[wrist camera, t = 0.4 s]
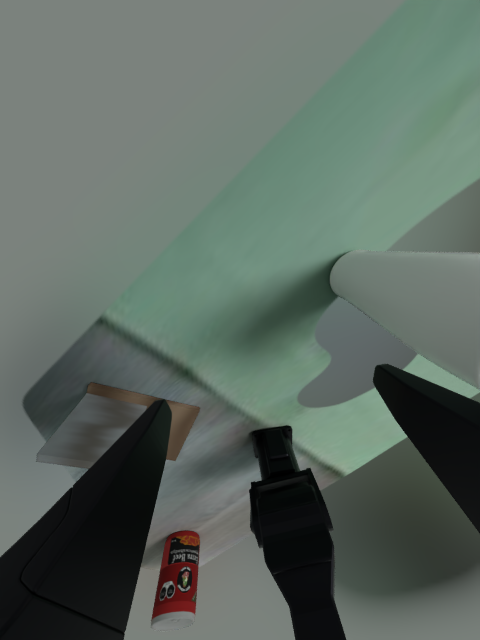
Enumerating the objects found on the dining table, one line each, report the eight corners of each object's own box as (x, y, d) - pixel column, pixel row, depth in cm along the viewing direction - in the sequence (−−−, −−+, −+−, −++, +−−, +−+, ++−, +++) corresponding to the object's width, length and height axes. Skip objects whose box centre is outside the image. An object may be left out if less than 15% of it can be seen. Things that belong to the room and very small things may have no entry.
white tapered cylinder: (315, 302, 23) (449, 403, 10) (328, 240, 20) (543, 261, 7) (368, 302, 24) (563, 398, 10) (388, 243, 21) (691, 266, 8)
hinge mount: (199, 407, 29) (192, 473, 21) (176, 457, 33) (162, 527, 25) (90, 382, 25) (32, 450, 17) (79, 441, 29) (29, 517, 21)
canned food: (206, 532, 45) (201, 617, 35) (191, 547, 48) (183, 631, 38) (174, 527, 43) (160, 618, 33) (160, 543, 45) (143, 631, 35)
